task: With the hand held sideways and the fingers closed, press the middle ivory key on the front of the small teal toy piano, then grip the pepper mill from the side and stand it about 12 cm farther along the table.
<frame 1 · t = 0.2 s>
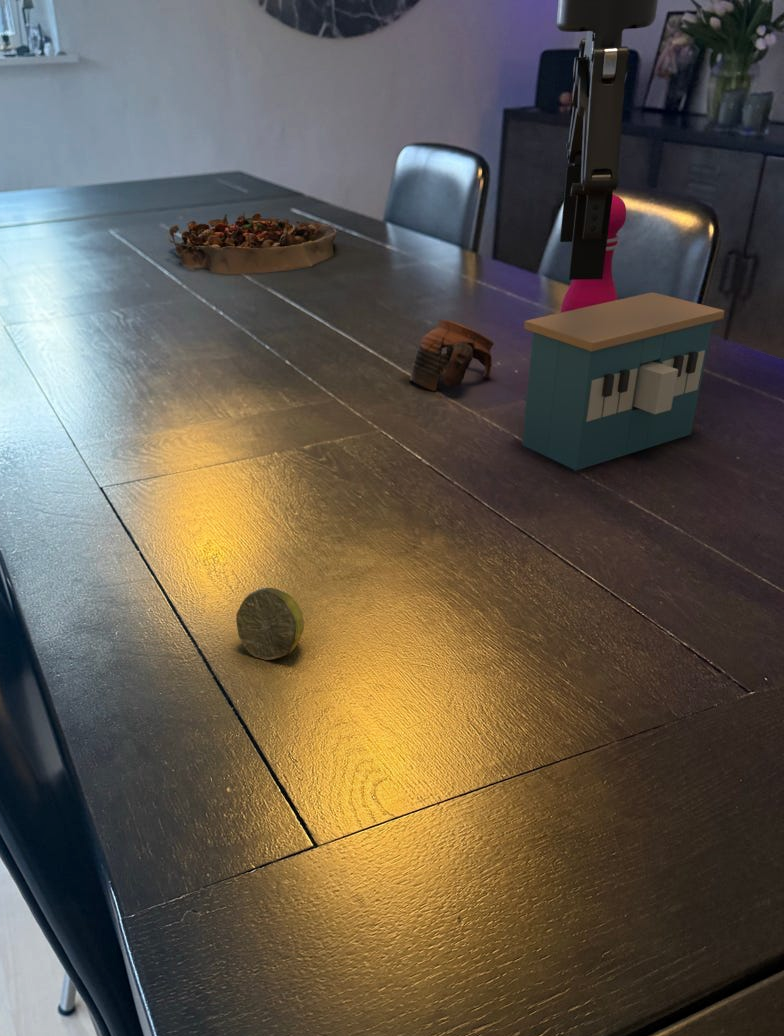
hand: (579, 258, 83), 19 cm above the table, tool pointing down, fingers open, 13 cm apart
lime: (272, 652, 68), on the table
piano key: (649, 386, 90), point 7 cm above the table, slide at 0.0 cm
toy piano: (606, 440, 97), on the table
food dish: (253, 254, 181), on the table
pepper mill: (584, 344, 125), on the table
rusty brown helmet: (450, 384, 114), on the table
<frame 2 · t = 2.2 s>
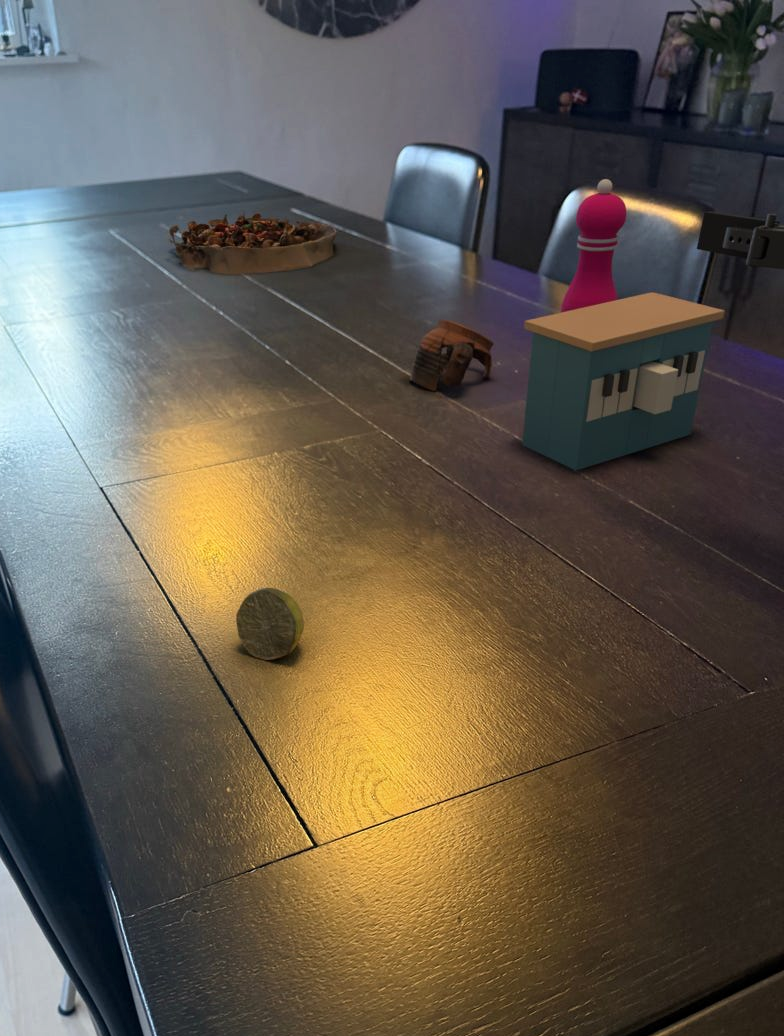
hand: (765, 225, 76), 22 cm above the table, tool horizontal, fingers open, 13 cm apart
nothing on the table moved.
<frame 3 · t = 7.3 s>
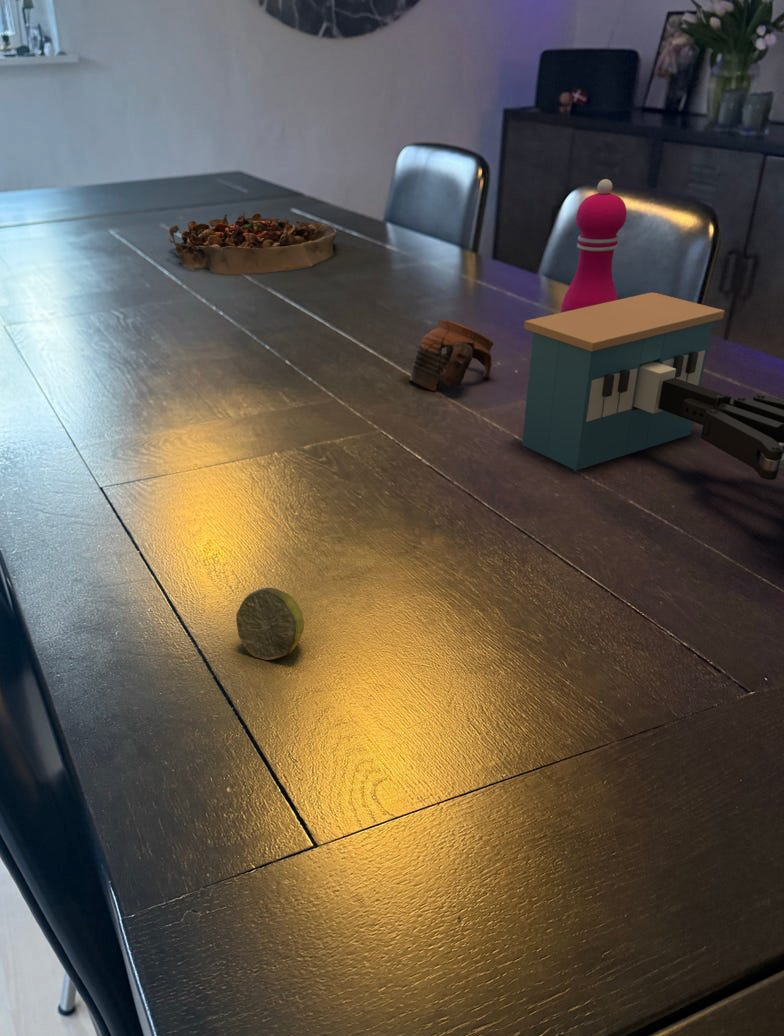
hand: (666, 393, 88), 7 cm above the table, tool horizontal, fingers closed
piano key: (647, 385, 90), point 7 cm above the table, slide at 0.2 cm, touching gripper
everything else where it was.
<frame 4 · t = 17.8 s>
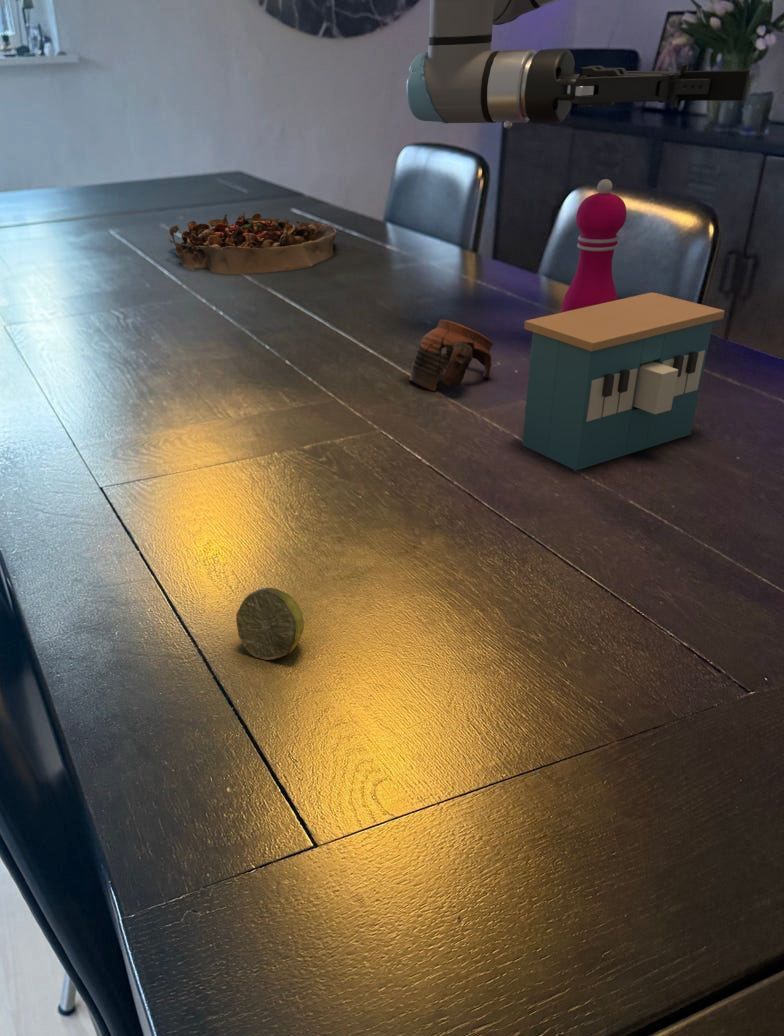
hand: (745, 85, 99), 30 cm above the table, tool horizontal, fingers closed
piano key: (650, 386, 90), point 7 cm above the table, slide at 0.0 cm
everything else where it was.
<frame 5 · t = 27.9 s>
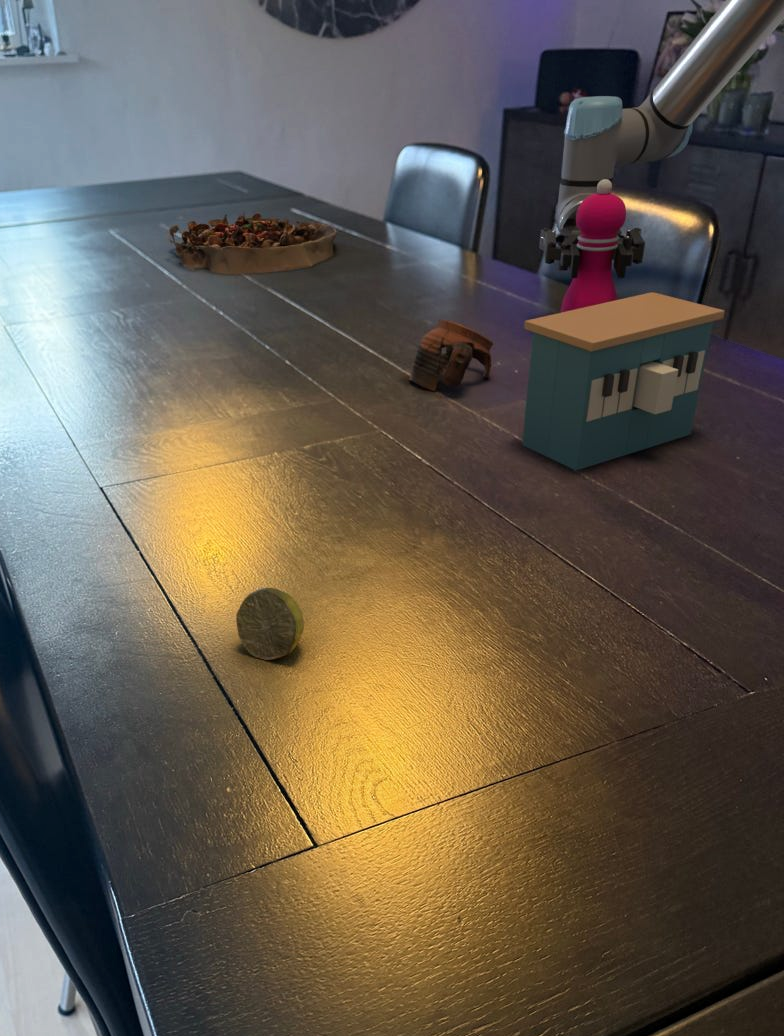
hand: (599, 266, 114), 11 cm above the table, tool horizontal, fingers closed on pepper mill, 5 cm apart
pepper mill: (584, 344, 125), on the table, touching gripper
everything else where it was.
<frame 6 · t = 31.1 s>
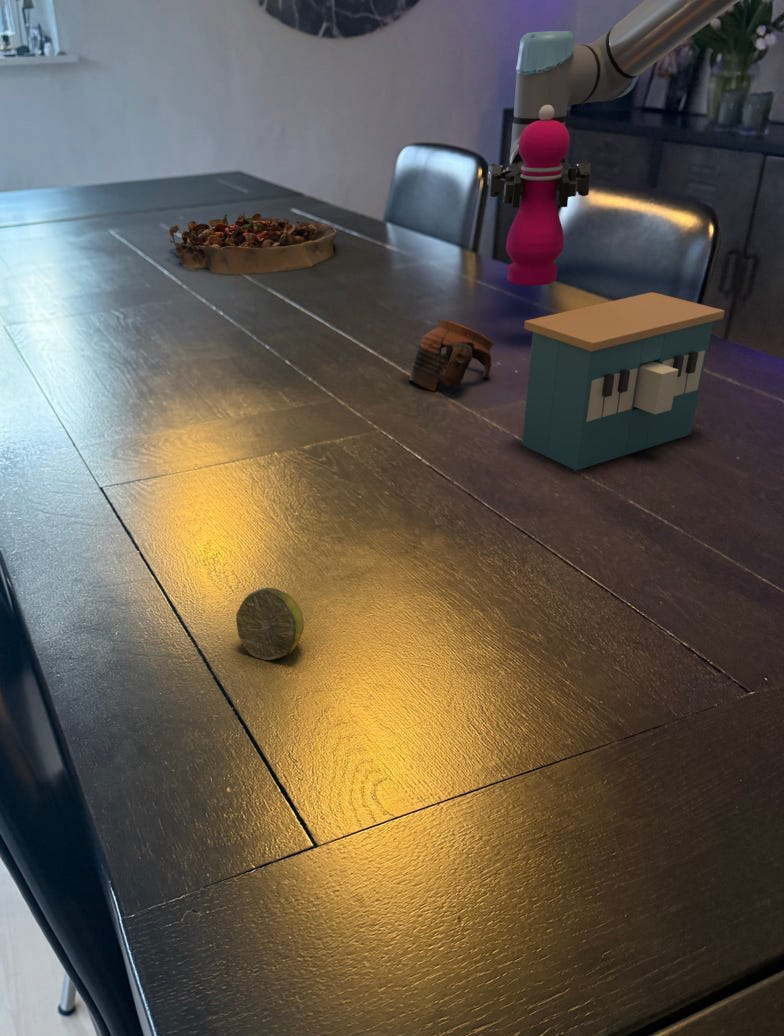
hand: (540, 195, 111), 19 cm above the table, tool horizontal, fingers closed on pepper mill, 5 cm apart
pepper mill: (531, 281, 122), point 8 cm above the table, touching gripper
everything else where it was.
when the fingers open (11 cm above the table, at t = 34.2 s): pepper mill stays where it is, on the table.
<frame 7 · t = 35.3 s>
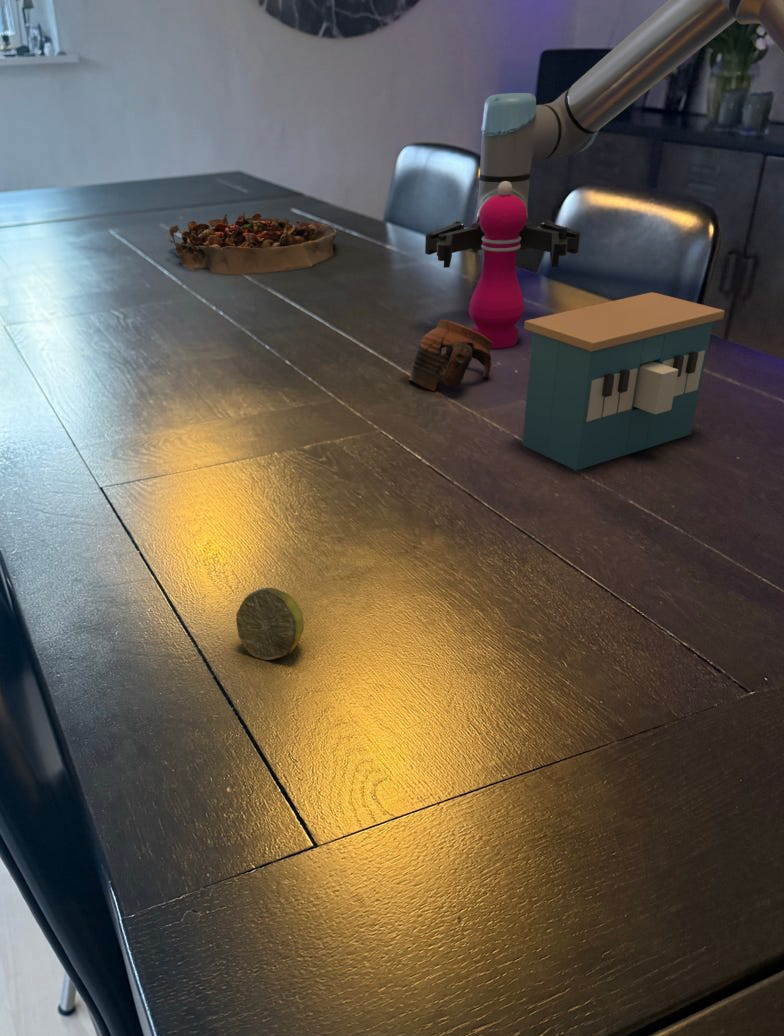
hand: (500, 256, 118), 12 cm above the table, tool horizontal, fingers open, 13 cm apart
pepper mill: (493, 343, 127), on the table
everything else where it was.
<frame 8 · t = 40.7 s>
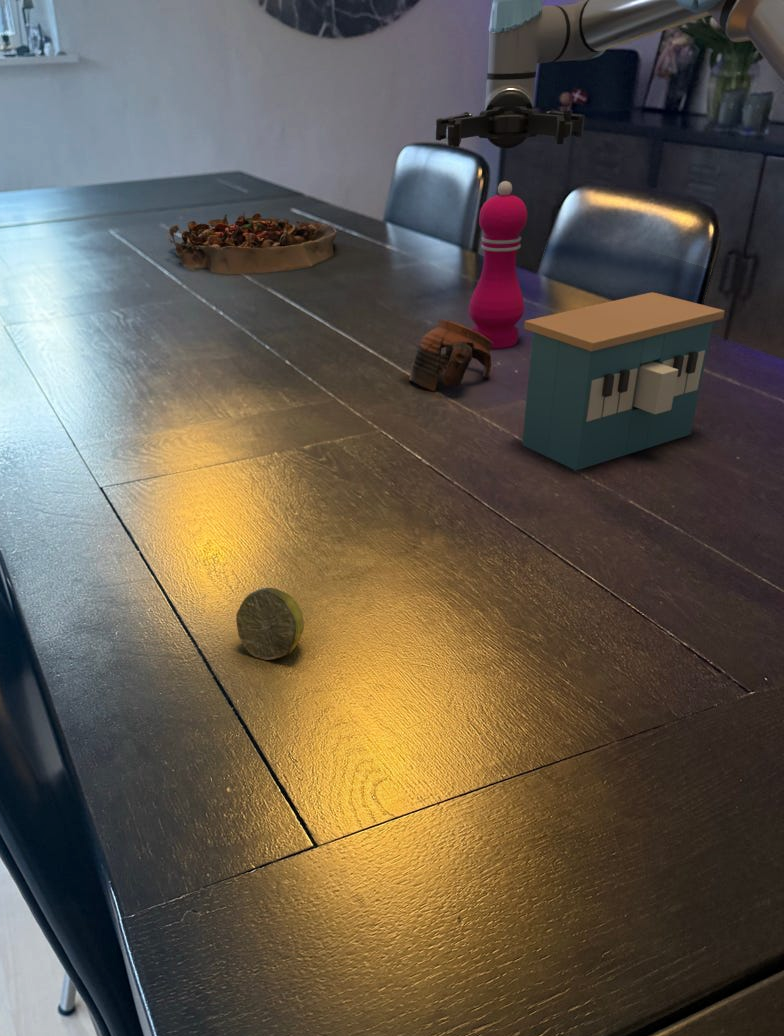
hand: (508, 134, 123), 24 cm above the table, tool horizontal, fingers open, 13 cm apart
nothing on the table moved.
at the end: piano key pulled out 1.8 cm at the most during the clip, back to where it started at the end; pepper mill inside the target area (0.1 cm from its centre), on the table; pepper mill tilted 0° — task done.
